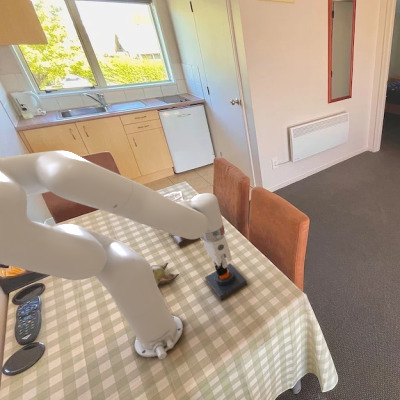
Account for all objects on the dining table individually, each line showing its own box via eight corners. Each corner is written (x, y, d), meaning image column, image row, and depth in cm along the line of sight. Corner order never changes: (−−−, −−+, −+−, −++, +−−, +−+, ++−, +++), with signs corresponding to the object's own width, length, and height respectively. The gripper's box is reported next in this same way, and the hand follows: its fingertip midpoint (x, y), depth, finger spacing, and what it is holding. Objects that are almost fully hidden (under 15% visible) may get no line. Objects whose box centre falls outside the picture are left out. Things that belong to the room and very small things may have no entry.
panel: (203, 237, 120) (201, 232, 118) (180, 248, 114) (178, 242, 112) (191, 224, 128) (189, 219, 127) (169, 233, 122) (167, 228, 121)
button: (231, 275, 95) (230, 272, 94) (222, 281, 93) (221, 277, 92) (226, 270, 97) (226, 267, 96) (217, 275, 95) (216, 272, 94)
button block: (247, 284, 96) (245, 276, 94) (221, 300, 90) (218, 292, 88) (231, 267, 103) (229, 259, 101) (206, 281, 97) (203, 273, 95)
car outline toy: (152, 225, 128) (146, 212, 124) (144, 216, 135) (139, 204, 131) (192, 208, 141) (188, 196, 137) (183, 201, 147) (179, 190, 143)
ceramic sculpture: (117, 271, 90) (163, 250, 100) (125, 289, 94) (168, 267, 105) (128, 287, 84) (176, 263, 95) (137, 305, 88) (181, 280, 99)
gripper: (234, 236, 82) (242, 278, 91) (212, 217, 91) (222, 257, 100) (210, 247, 77) (222, 290, 87) (190, 225, 87) (203, 267, 96)
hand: (222, 272), depth 93 cm, fingers closed
